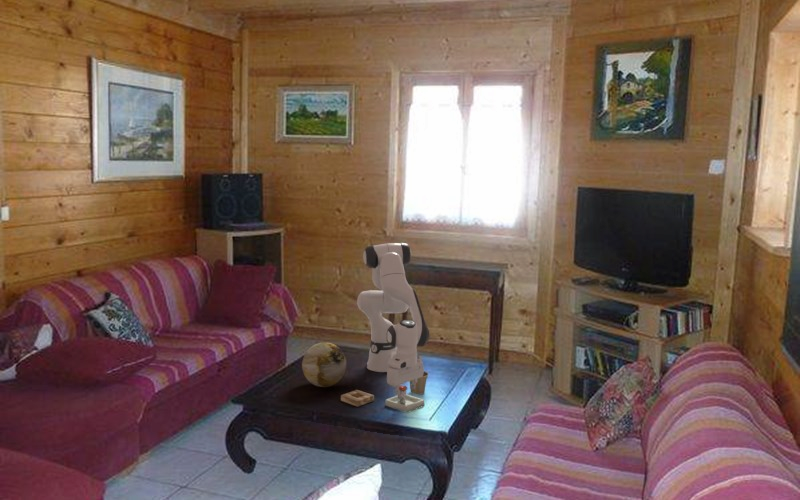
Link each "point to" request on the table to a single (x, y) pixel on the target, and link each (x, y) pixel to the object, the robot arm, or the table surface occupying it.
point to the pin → (402, 395)
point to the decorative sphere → (324, 364)
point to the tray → (410, 403)
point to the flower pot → (420, 384)
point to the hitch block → (357, 398)
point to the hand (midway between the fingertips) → (405, 391)
